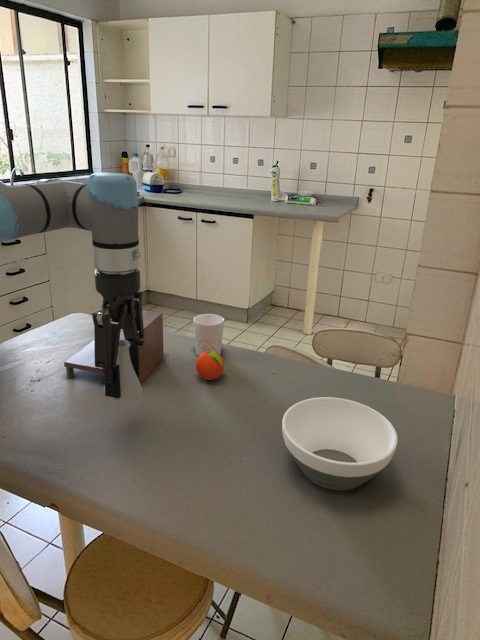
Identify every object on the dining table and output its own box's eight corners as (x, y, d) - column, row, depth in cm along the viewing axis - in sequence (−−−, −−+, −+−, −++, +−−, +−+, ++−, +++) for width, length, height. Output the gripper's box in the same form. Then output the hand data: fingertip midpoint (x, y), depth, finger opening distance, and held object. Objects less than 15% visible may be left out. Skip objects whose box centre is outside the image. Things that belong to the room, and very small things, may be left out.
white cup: (222, 360, 122) (223, 325, 118) (192, 359, 122) (192, 324, 118) (223, 347, 129) (224, 314, 125) (195, 346, 129) (195, 313, 125)
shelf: (66, 381, 109) (60, 330, 104) (105, 349, 125) (101, 304, 120) (132, 393, 105) (129, 341, 100) (163, 358, 121) (162, 312, 116)
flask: (96, 388, 88) (93, 341, 84) (130, 377, 93) (129, 331, 89) (115, 405, 83) (112, 355, 79) (150, 392, 88) (149, 345, 84)
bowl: (408, 474, 84) (418, 430, 80) (348, 532, 71) (356, 483, 67) (321, 426, 96) (326, 386, 93) (256, 468, 83) (258, 423, 80)
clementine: (232, 380, 113) (234, 353, 110) (212, 390, 108) (212, 362, 105) (210, 368, 118) (211, 343, 115) (189, 377, 113) (189, 351, 110)
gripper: (107, 289, 69) (115, 418, 78) (161, 257, 87) (162, 365, 96) (63, 282, 70) (75, 410, 79) (124, 253, 88) (129, 359, 97)
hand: (123, 385), depth 87 cm, fingers closed on flask, 7 cm apart
